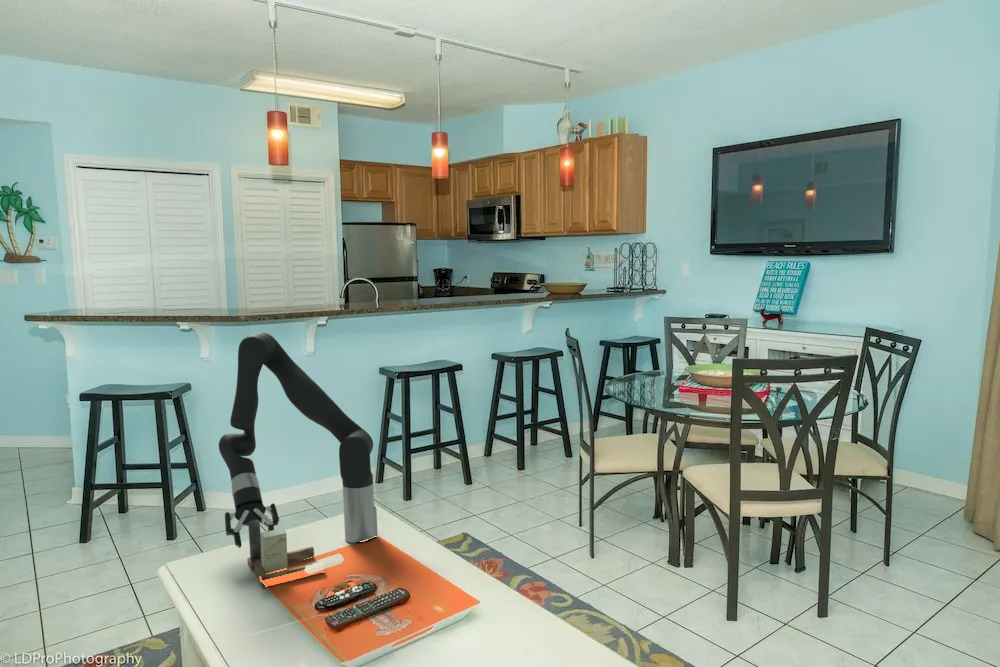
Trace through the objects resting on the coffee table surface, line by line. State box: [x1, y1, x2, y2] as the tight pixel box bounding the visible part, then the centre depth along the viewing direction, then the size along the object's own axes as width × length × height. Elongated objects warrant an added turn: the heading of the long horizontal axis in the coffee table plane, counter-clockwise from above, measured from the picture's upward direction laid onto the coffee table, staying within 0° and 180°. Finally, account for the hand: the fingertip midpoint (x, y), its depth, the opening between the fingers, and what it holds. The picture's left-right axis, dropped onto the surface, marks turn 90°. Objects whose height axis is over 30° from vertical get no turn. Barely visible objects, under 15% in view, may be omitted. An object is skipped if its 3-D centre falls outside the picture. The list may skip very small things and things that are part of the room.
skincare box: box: [260, 528, 289, 574], centre depth 176 cm, size 6×4×12 cm
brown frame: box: [247, 520, 315, 589], centre depth 181 cm, size 17×18×12 cm
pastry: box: [331, 579, 354, 593], centre depth 163 cm, size 9×7×4 cm
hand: (256, 542), depth 183 cm, fingers open, 8 cm apart
